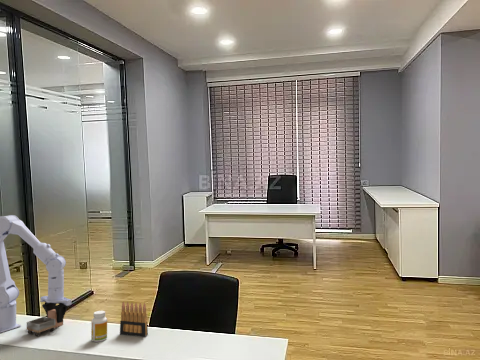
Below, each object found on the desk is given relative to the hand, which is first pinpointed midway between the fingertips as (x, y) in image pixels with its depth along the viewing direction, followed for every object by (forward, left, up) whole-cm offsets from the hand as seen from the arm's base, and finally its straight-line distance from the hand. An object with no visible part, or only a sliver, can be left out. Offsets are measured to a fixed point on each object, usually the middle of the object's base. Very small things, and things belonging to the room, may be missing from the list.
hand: (55, 321), depth 152 cm
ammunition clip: (+35, +7, -2) cm, 36 cm away
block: (0, 0, -2) cm, 2 cm away
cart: (+2, -7, -2) cm, 8 cm away
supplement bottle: (+27, -2, -2) cm, 27 cm away
